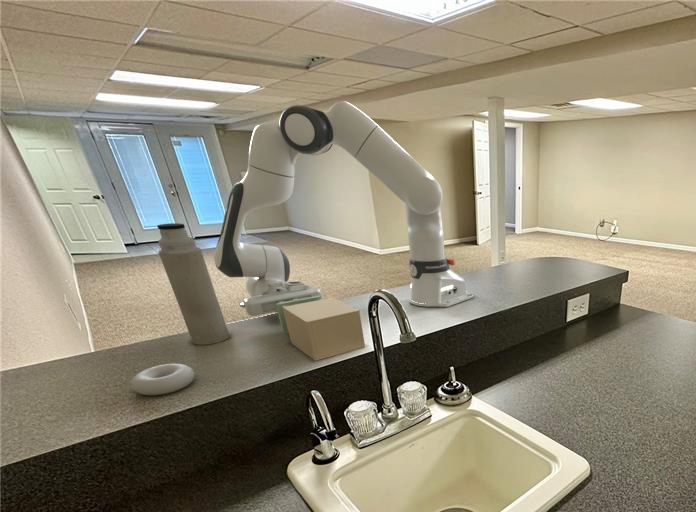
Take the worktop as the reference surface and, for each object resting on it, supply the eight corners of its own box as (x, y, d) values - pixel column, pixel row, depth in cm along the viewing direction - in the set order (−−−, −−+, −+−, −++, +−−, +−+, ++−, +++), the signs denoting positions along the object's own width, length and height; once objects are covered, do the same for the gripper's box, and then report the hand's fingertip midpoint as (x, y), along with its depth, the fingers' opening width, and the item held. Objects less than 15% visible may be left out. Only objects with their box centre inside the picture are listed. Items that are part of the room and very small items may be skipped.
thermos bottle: (208, 332, 108) (169, 221, 95) (236, 334, 108) (200, 222, 94) (184, 343, 101) (138, 225, 88) (214, 345, 101) (172, 226, 87)
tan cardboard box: (291, 343, 103) (282, 307, 99) (339, 331, 111) (332, 297, 107) (315, 360, 94) (306, 322, 90) (365, 346, 102) (359, 310, 98)
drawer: (276, 327, 110) (269, 299, 106) (318, 318, 117) (312, 292, 114) (302, 346, 99) (295, 316, 96) (347, 335, 107) (341, 306, 103)
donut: (204, 385, 83) (187, 370, 89) (198, 371, 81) (182, 356, 87) (143, 404, 76) (129, 386, 82) (135, 389, 75) (122, 371, 80)
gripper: (233, 292, 112) (249, 303, 104) (308, 280, 125) (327, 289, 117) (240, 314, 115) (256, 326, 107) (312, 300, 128) (332, 310, 120)
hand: (294, 307), depth 112 cm, fingers closed
